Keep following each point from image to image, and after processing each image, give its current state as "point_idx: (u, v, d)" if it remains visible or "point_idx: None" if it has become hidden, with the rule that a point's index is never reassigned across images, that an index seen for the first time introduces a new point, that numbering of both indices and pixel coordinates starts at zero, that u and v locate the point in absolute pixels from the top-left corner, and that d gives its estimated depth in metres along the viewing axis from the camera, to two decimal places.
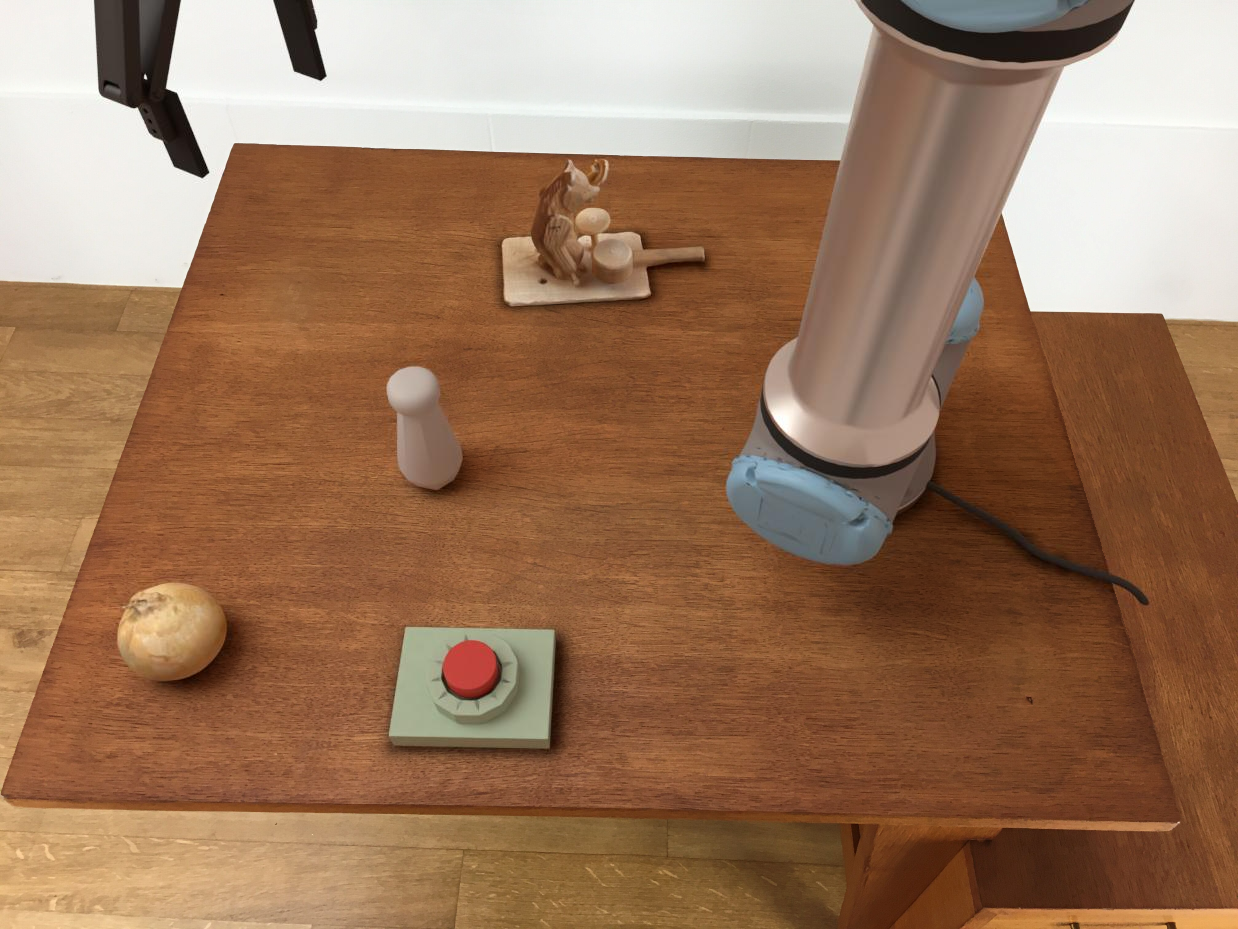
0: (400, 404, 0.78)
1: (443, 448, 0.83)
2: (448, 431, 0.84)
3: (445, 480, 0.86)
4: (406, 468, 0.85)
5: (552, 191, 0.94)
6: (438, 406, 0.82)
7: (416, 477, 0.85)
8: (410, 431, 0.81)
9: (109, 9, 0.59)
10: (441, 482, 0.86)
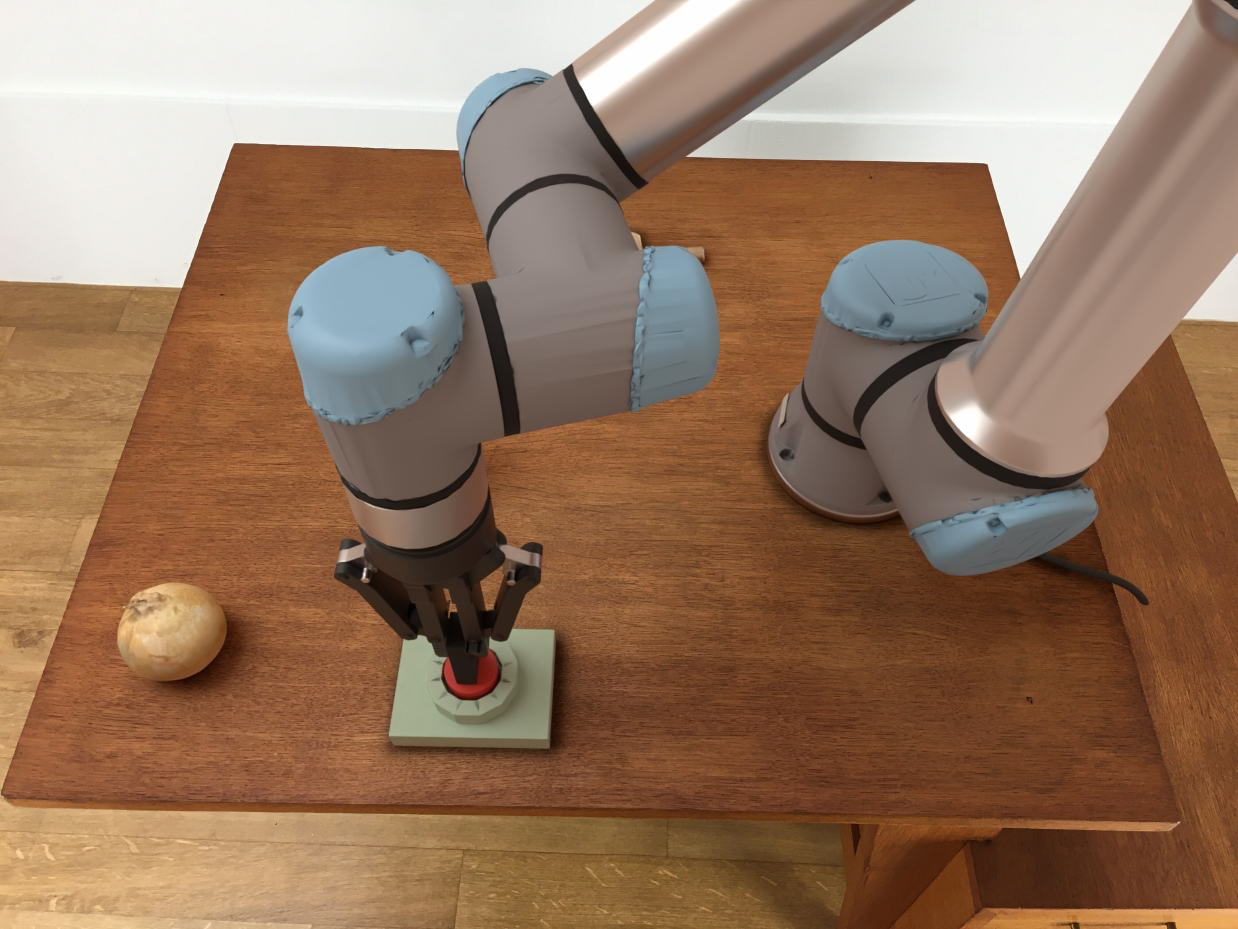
0: None
1: None
2: None
3: None
4: None
5: None
6: None
7: None
8: None
9: None
10: None
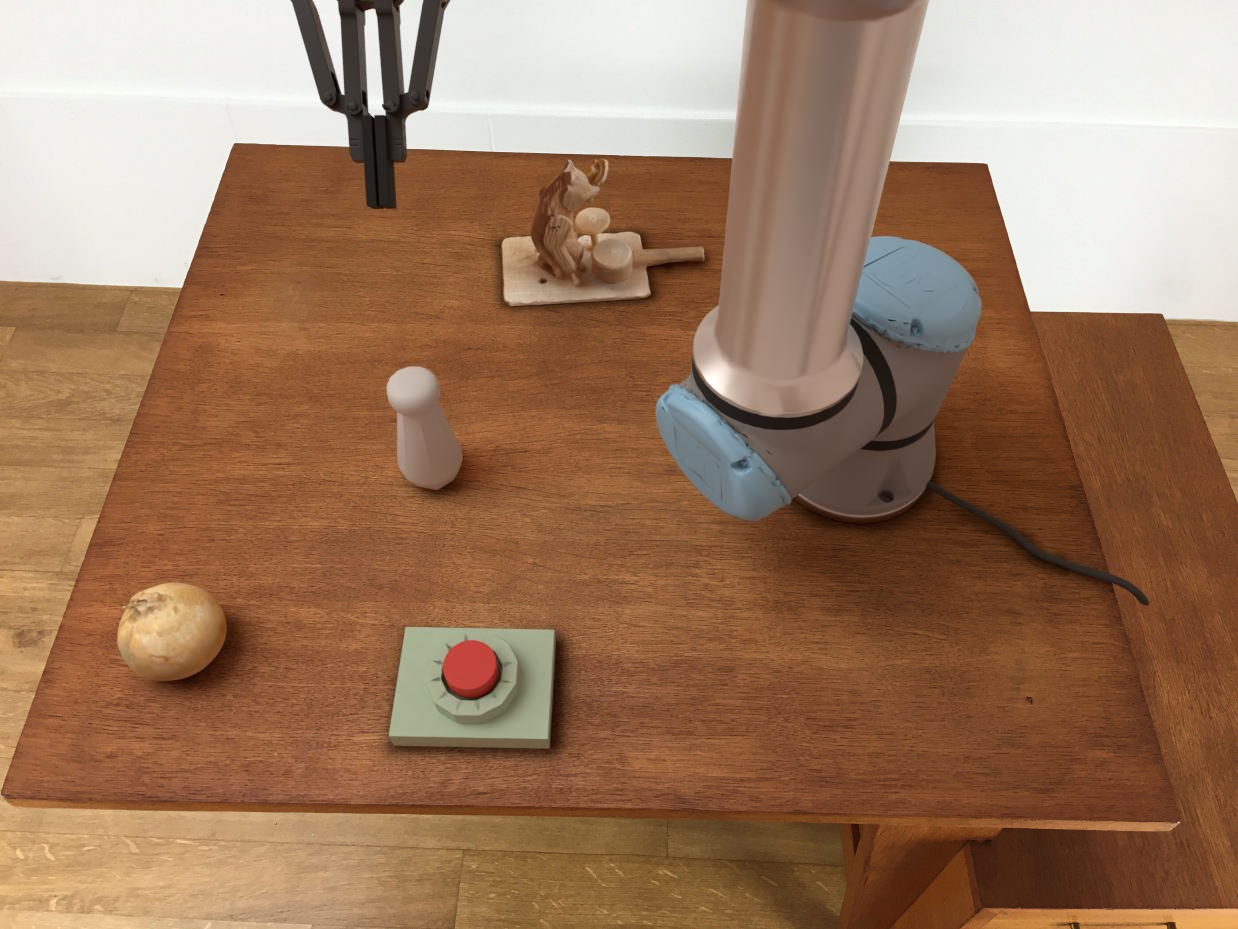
0: (400, 404, 0.78)
1: (443, 448, 0.83)
2: (448, 431, 0.84)
3: (445, 480, 0.86)
4: (406, 468, 0.85)
5: (551, 191, 0.94)
6: (438, 406, 0.82)
7: (416, 477, 0.85)
8: (410, 431, 0.81)
9: None
10: (441, 482, 0.86)
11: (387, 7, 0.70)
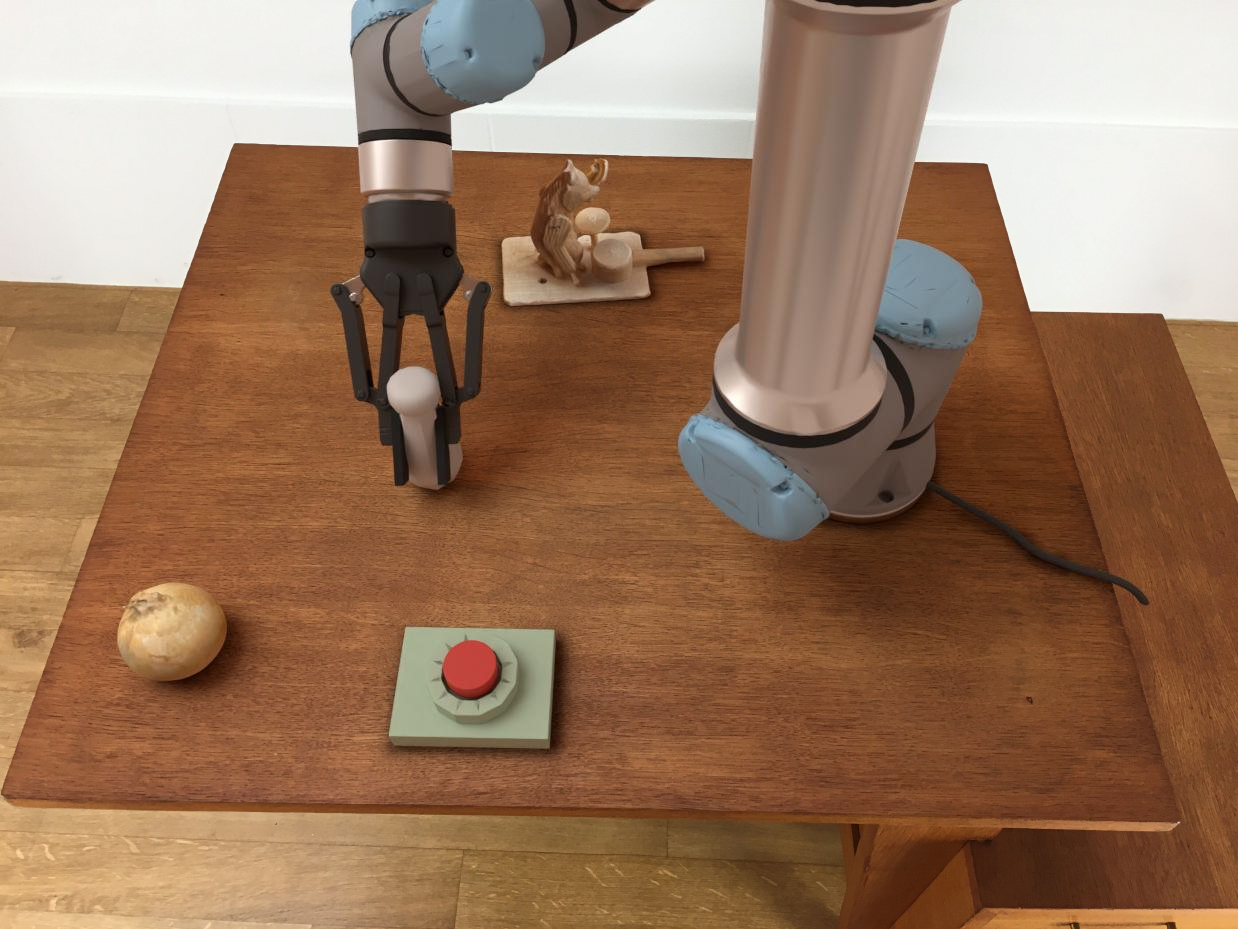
0: (400, 404, 0.78)
1: None
2: None
3: None
4: None
5: (551, 191, 0.94)
6: (438, 406, 0.82)
7: (416, 477, 0.85)
8: (410, 431, 0.81)
9: None
10: None
11: (436, 320, 0.79)
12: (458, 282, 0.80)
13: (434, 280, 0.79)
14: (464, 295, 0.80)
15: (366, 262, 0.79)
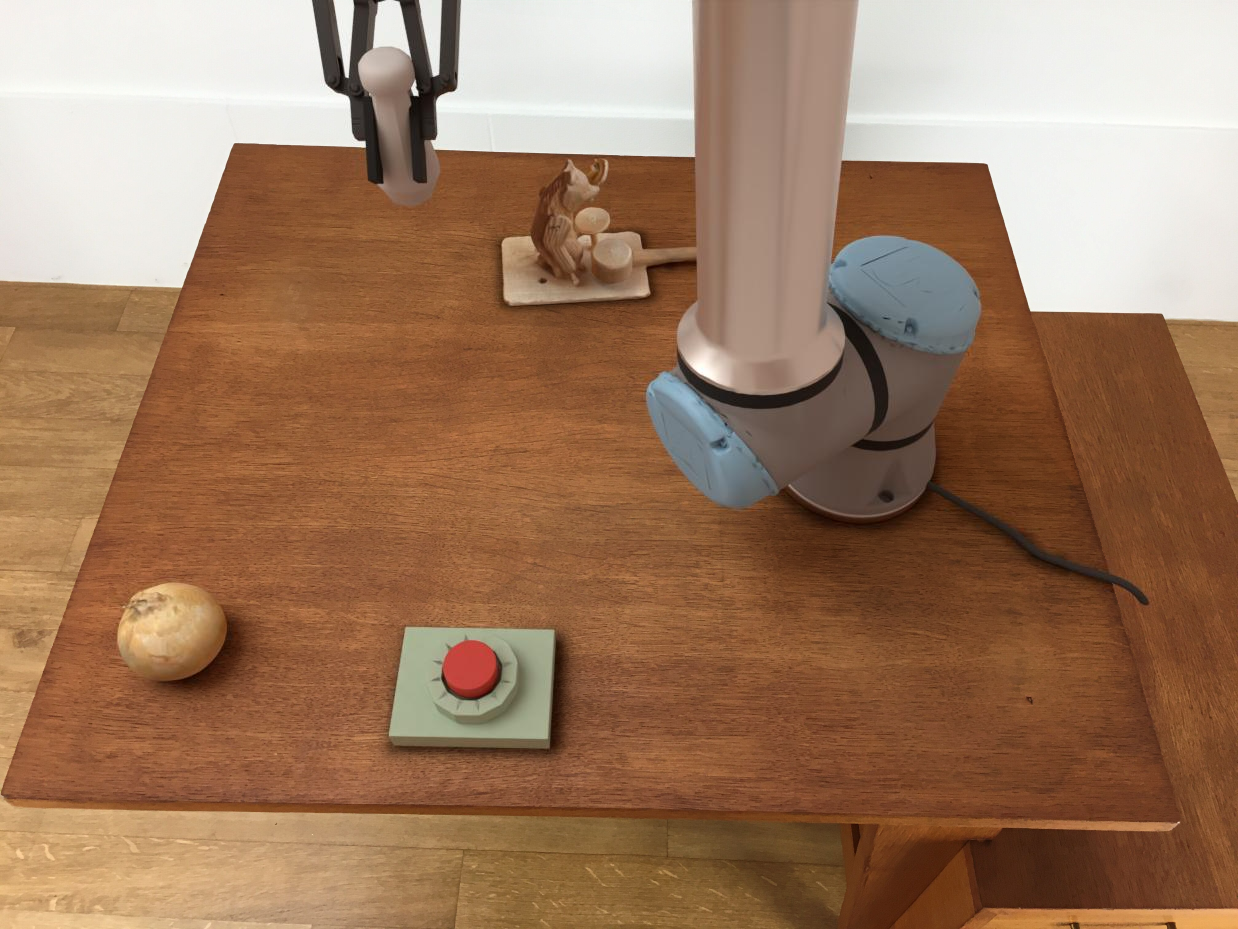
0: (372, 78, 0.74)
1: None
2: None
3: (422, 189, 0.82)
4: None
5: (551, 190, 0.94)
6: None
7: (391, 183, 0.81)
8: (384, 121, 0.78)
9: None
10: (418, 191, 0.82)
11: None
12: None
13: None
14: None
15: None
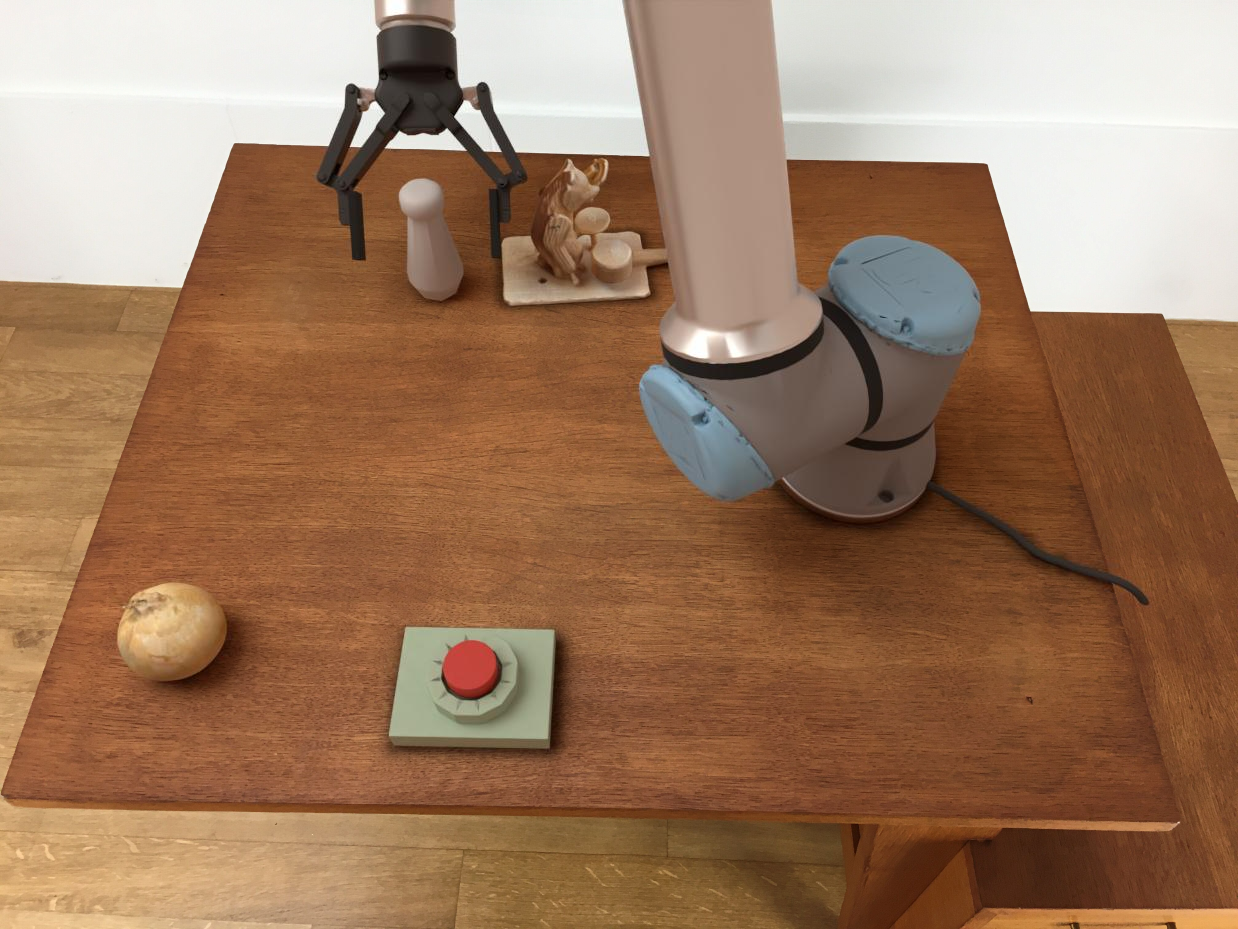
0: (410, 206, 0.91)
1: (446, 256, 0.97)
2: (451, 242, 0.97)
3: (449, 288, 0.99)
4: (415, 275, 0.98)
5: (551, 190, 0.94)
6: (442, 217, 0.95)
7: (424, 284, 0.99)
8: (419, 237, 0.95)
9: None
10: (445, 290, 0.99)
11: (456, 124, 0.92)
12: (462, 96, 0.93)
13: (437, 95, 0.92)
14: (472, 104, 0.93)
15: (380, 84, 0.92)
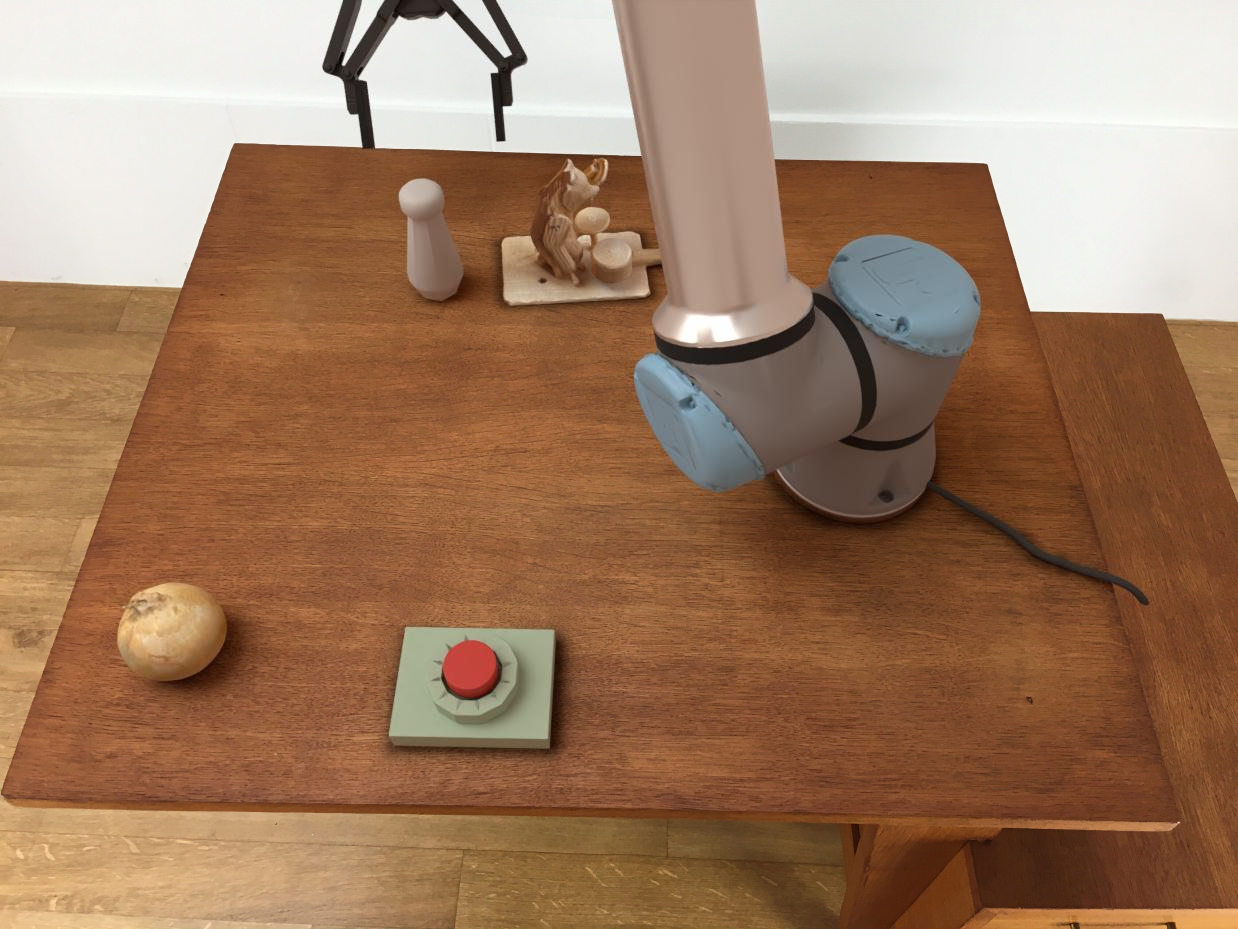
0: (410, 206, 0.91)
1: (446, 256, 0.97)
2: (451, 242, 0.97)
3: (449, 288, 0.99)
4: (415, 275, 0.98)
5: (551, 190, 0.94)
6: (442, 217, 0.95)
7: (424, 284, 0.99)
8: (418, 237, 0.95)
9: None
10: (445, 290, 0.99)
11: (455, 8, 0.94)
12: None
13: None
14: None
15: None
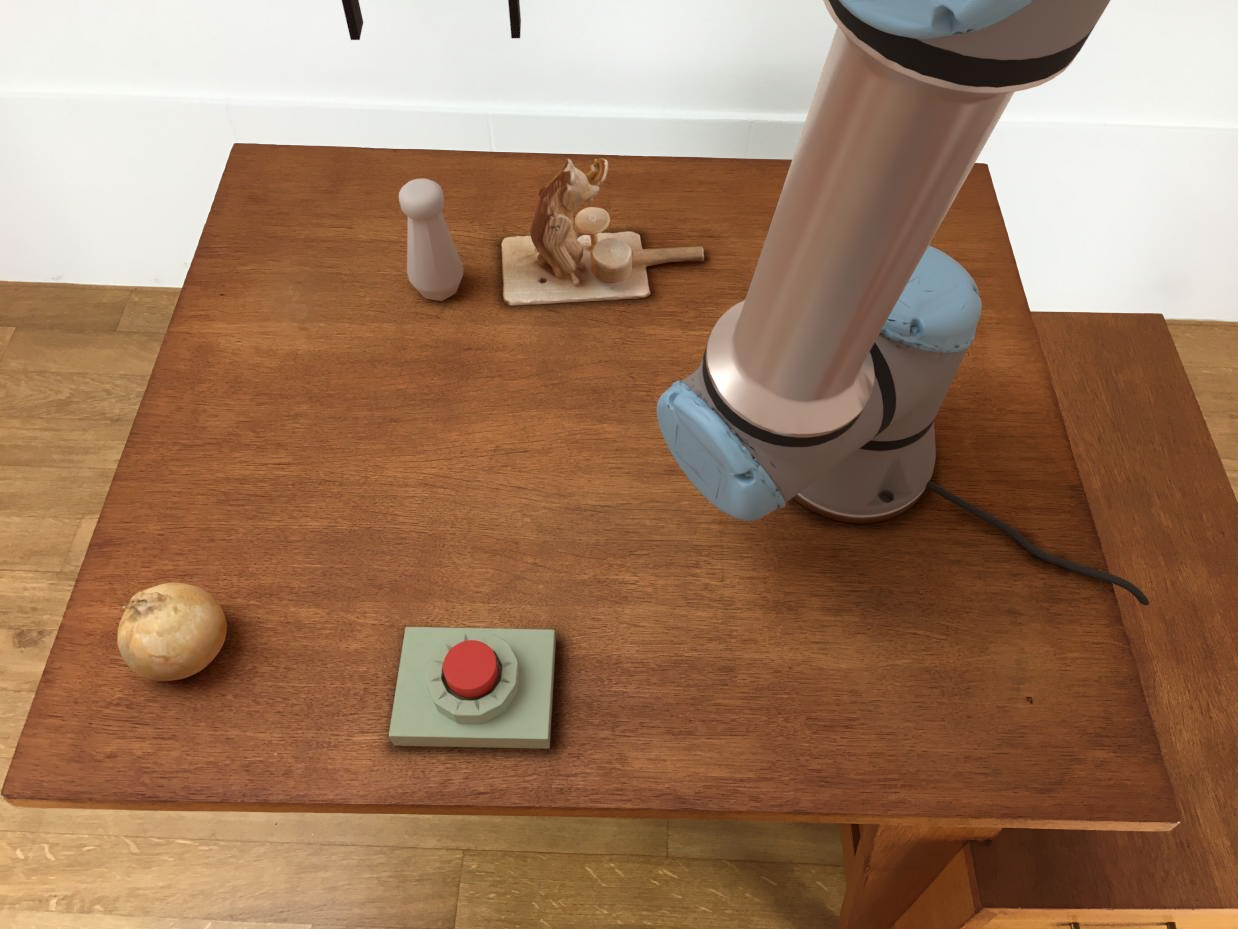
0: (410, 206, 0.91)
1: (446, 256, 0.97)
2: (451, 242, 0.97)
3: (449, 288, 0.99)
4: (415, 275, 0.98)
5: (551, 190, 0.94)
6: (442, 217, 0.95)
7: (424, 284, 0.99)
8: (418, 237, 0.95)
9: None
10: (445, 290, 0.99)
11: None
12: None
13: None
14: None
15: None
